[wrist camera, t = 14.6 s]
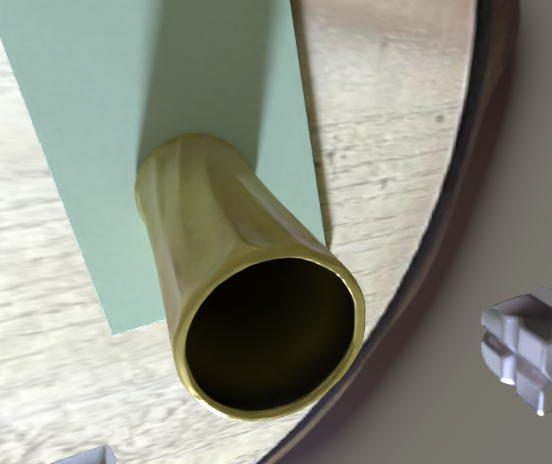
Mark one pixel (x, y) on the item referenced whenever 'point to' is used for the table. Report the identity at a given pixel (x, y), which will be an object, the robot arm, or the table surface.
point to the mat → (155, 115)
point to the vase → (243, 284)
